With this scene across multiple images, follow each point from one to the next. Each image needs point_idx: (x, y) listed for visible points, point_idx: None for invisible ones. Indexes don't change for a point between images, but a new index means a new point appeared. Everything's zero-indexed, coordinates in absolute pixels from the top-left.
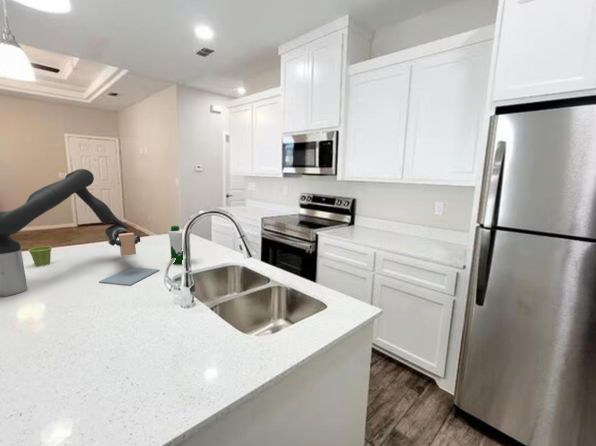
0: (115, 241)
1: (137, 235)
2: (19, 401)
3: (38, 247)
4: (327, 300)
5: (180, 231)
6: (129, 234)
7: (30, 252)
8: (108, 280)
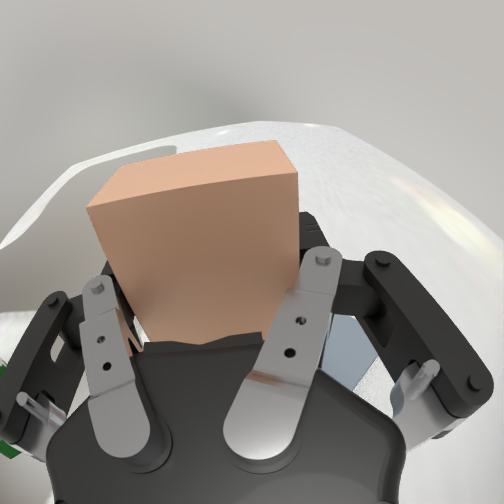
0: (343, 260)
1: (12, 392)
2: (344, 134)
3: None
4: (71, 176)
5: None
6: (169, 156)
7: None
8: (350, 335)
